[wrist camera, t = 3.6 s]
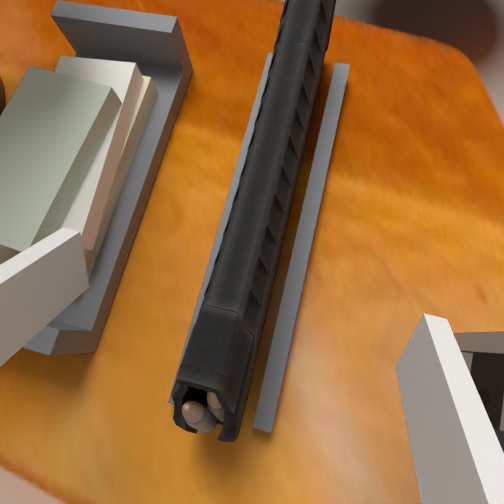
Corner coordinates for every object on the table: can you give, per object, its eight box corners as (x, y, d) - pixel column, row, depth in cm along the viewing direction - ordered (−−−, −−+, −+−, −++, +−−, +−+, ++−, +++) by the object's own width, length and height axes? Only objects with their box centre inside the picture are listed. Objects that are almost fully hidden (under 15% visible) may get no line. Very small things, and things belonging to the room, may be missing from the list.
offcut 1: (12, 237, 23) (-6, 230, 22) (72, 72, 26) (60, 55, 25) (92, 250, 23) (78, 243, 21) (144, 79, 26) (135, 63, 24)
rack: (-34, 338, 25) (-108, 338, 20) (97, 40, 31) (64, -15, 26) (271, 426, 22) (270, 451, 17) (346, 78, 28) (360, 25, 23)
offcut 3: (-2, 268, 24) (-21, 263, 23) (81, 78, 28) (70, 63, 27) (84, 290, 24) (71, 287, 22) (158, 91, 27) (151, 77, 26)
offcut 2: (-39, 230, 22) (-63, 221, 20) (45, 82, 24) (29, 65, 23) (44, 259, 21) (25, 253, 19) (122, 103, 23) (111, 86, 22)
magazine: (304, -94, 21) (44, 388, 6) (354, -90, 21) (206, 435, 6) (281, 128, 36) (188, 431, 21) (311, 133, 36) (237, 445, 21)
